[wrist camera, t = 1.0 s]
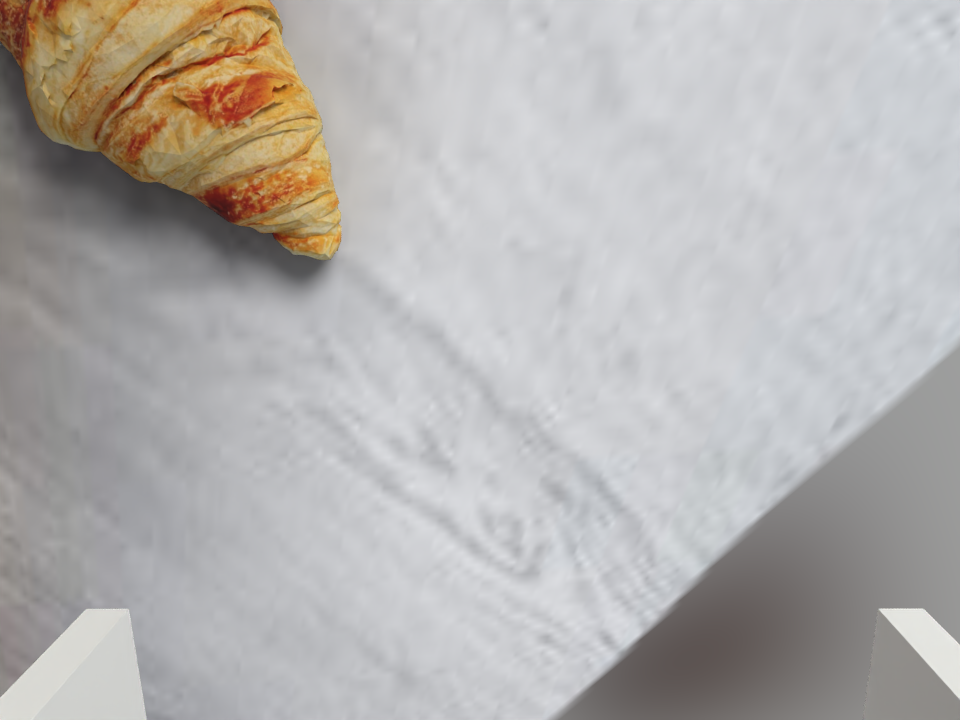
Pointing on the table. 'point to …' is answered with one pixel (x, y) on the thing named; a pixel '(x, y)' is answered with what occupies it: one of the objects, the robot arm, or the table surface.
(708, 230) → the table surface
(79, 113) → the croissant
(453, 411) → the table surface
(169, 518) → the table surface
